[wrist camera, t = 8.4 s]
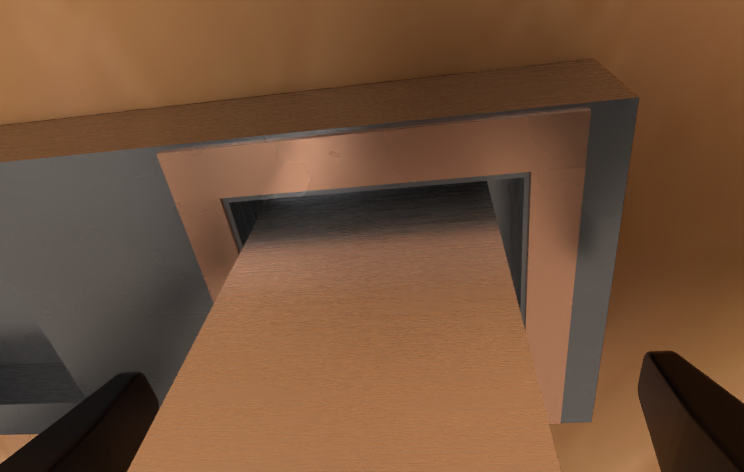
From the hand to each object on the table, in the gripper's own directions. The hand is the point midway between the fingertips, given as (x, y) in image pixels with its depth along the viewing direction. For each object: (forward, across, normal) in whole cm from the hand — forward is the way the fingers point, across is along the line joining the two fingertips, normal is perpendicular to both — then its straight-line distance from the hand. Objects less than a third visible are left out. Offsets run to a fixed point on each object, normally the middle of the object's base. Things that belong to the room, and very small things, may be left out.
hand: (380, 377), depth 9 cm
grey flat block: (+4, +6, 0) cm, 7 cm away
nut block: (+4, 0, 0) cm, 4 cm away
